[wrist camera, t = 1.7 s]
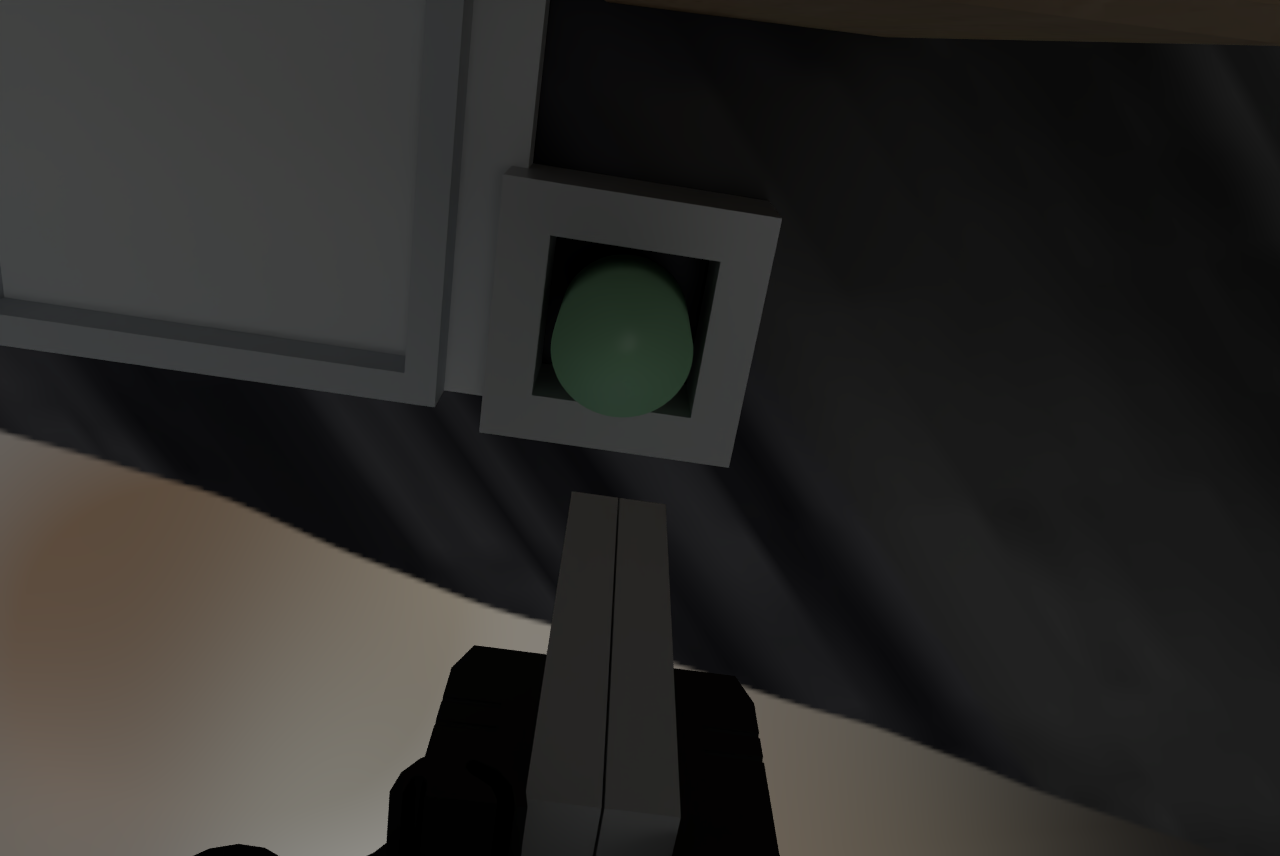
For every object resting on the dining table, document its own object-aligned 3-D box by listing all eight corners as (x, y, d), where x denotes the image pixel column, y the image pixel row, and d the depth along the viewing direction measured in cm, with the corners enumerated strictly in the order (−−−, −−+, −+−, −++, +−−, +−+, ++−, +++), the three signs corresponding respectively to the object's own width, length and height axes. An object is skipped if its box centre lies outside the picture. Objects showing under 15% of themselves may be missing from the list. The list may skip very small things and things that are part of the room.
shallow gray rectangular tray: (-67, -222, 25) (-146, -250, 22) (562, -111, 26) (552, -126, 23) (-1, 312, 31) (-57, 336, 28) (509, 386, 32) (497, 416, 29)
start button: (568, 244, 28) (559, 271, 25) (698, 264, 28) (705, 293, 25) (553, 367, 30) (543, 406, 26) (676, 385, 30) (680, 426, 27)
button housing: (516, 160, 29) (503, 174, 26) (768, 200, 29) (782, 218, 26) (493, 397, 32) (479, 432, 29) (721, 430, 32) (728, 467, 29)
